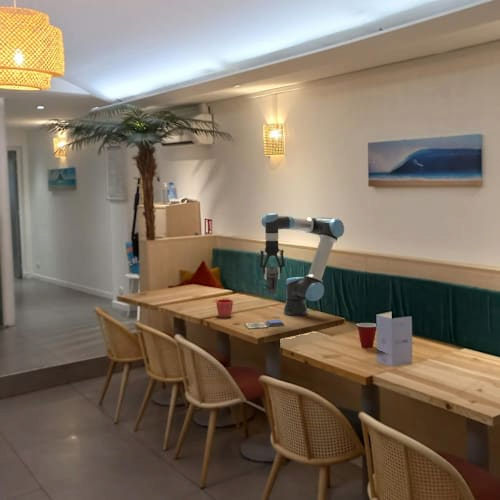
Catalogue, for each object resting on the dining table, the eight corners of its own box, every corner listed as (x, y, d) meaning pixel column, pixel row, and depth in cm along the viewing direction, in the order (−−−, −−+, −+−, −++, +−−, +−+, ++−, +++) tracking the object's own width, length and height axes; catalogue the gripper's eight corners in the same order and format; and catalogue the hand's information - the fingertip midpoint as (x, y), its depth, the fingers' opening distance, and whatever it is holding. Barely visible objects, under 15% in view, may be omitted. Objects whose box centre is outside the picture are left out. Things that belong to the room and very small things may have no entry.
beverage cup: (278, 291, 376) (277, 257, 374) (278, 293, 369) (278, 259, 366) (265, 291, 376) (265, 258, 374) (266, 293, 369) (265, 259, 366)
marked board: (264, 323, 377) (264, 322, 377) (268, 327, 365) (268, 326, 365) (244, 324, 375) (244, 323, 375) (248, 329, 363) (248, 328, 363)
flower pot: (236, 315, 400) (236, 300, 399) (226, 318, 391) (226, 303, 390) (222, 313, 406) (222, 298, 405) (213, 316, 397) (212, 301, 396)
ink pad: (280, 322, 379) (280, 319, 378) (284, 325, 370) (284, 322, 370) (265, 323, 377) (265, 320, 377) (269, 326, 368) (269, 323, 368)
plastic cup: (376, 344, 327) (376, 321, 326) (378, 349, 317) (379, 326, 315) (355, 343, 328) (355, 321, 327) (356, 349, 318) (357, 326, 316)
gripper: (287, 239, 374) (287, 277, 377) (253, 239, 371) (254, 278, 373) (290, 240, 367) (290, 279, 369) (256, 241, 363) (256, 280, 366)
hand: (272, 278), depth 371 cm, fingers closed on beverage cup, 7 cm apart
